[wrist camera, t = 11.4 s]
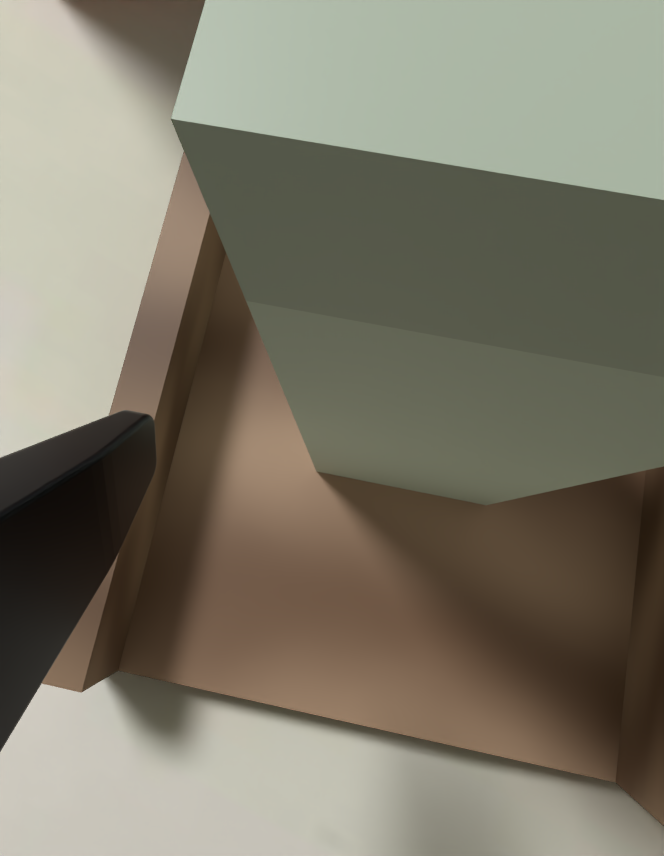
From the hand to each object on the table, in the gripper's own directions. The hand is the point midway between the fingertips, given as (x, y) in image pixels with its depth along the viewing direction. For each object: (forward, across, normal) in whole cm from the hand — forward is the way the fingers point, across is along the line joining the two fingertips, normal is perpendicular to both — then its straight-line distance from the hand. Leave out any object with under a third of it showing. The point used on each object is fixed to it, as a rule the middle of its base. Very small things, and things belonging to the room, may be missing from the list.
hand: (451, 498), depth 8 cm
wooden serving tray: (+9, 0, +4) cm, 9 cm away
